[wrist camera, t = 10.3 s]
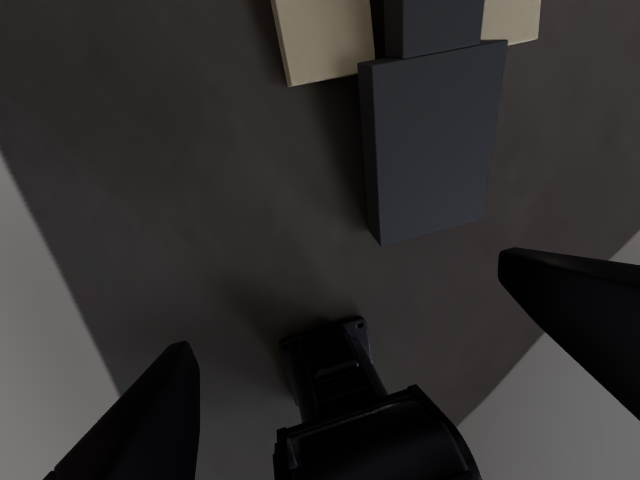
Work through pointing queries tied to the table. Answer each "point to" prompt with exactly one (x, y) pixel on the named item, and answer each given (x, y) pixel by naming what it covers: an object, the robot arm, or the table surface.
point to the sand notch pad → (368, 34)
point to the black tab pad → (429, 118)
